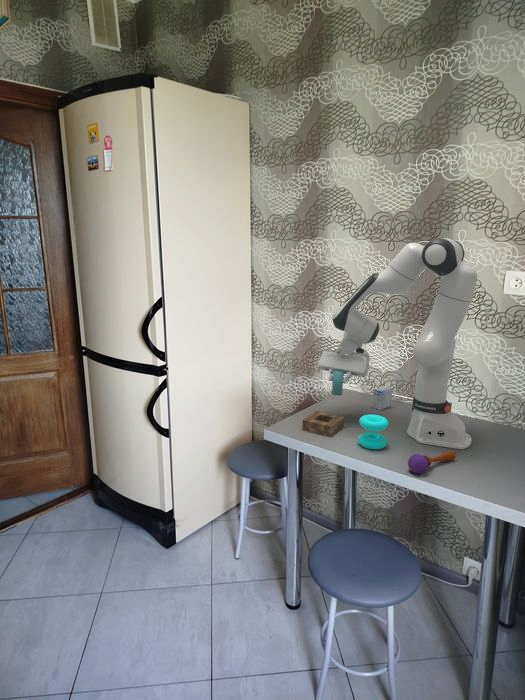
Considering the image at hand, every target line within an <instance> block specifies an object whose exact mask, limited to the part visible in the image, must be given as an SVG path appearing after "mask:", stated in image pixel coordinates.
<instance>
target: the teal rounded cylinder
mask: <svg viewBox="0 0 525 700" xmlns="http://www.w3.org/2000/svg"><path fill="white" fill-rule="evenodd" d="M332 376H333V381H331V382H332V383H331V384H332V385H331V386H332V387H331V395H333V396H342V395H343V385H344V383H342V382H341V380H342V378H344V374H343V371H340V370H335V371H333V374H332Z"/></svg>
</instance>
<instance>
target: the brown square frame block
mask: <svg viewBox="0 0 525 700" xmlns="http://www.w3.org/2000/svg"><path fill="white" fill-rule="evenodd" d="M344 427H345V416H342V415H337V414H333V413H328V412H325V411H324V412H323V411H319V410H316V411H314V412H312V413H311V414H309V415H308V416H306V417H305V418H304V419H302V428H301V429H302V431H305V430H306V431H305V432H309V431H310V433H313V432H314V434H318V435H322V436H326V437H329V438H330V437H331V438H332V437H333V436H335V434H337V433H338V432H339V431H340V430H342V429H343V428H344Z"/></svg>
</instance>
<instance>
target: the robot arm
mask: <svg viewBox="0 0 525 700" xmlns="http://www.w3.org/2000/svg"><path fill="white" fill-rule="evenodd" d="M464 258H465V250H464V247H463V244H461V243H460V242H459V241H457V240H455V239H451V238H450V237H449V238H448V237H438V238H434V239H431V240H430V241H428V242H427V243H425V245H422V244H421V243H419V242H418V243H417V242H408V243H407V244H405V246H403V247H402V248H401V250H399V252H398V253H397V254H396V255H395V256H394V258H393V259H392V261H391V262H390V263H389V265H388V266H387V267H386V268H385V269H383V270H382V271H380V272H375V273H372V274H371V275H370V276H368V277H367V279H365V281H363V283H362V284H360V285H359V287H358V288H356V290H355V291H354V292H353V293H352V294H351V295H350V297H349V298H347V300H346V301H344V302H343V303H342V304H341V305H340V306H339V307H338V308H337V309H335V311H334V313H333V316H332V323H333V326H334V328H335V329H337V330H340V331H342V332H344V333H343V337H342V339H341V341H340V343H339V345H338V347H337V350H336V349H330V348H329V349H328V348H327V349H326V350H323V352H322V354H321V356H320V358H319V360H318V362H317V367H318V368H319V370H321V371H325V372H328V374H329V376H328V381H329V382H332V381H333V371H335V370H340V371H343V375H346V376H344V377H343V378H342V380H341V382H342V383H343V385H344V384H345V385H347V382H348V381H349V380H350V379H352V376H355V377H361V378H366V377H367V376H368V375H369V372H370V371H369V370H370V361H371V357H370V355H369V353H368V350H366V349H364V348H362V347H363V345H366V344H370V343H373V342H375V340H376V339H377V337H378V335H379V332H380V329H381V327H380V323H379V321H378V320H376V319H375V318H374V317H371V316H369V315H368V314H365V313H364V312H362V311H360V310H358V309H356V308H358V306H360V304H361V303H362V302H363V301H364V299H366V298H367V297H368V296H369V295H372V294H377V293H380V294H387V295H388V294H389V295H401V294H404V293H406V292H407V291H409V290H410V289H411V288H412V286H413V285H414V284H415V282H416V281H417V279H418V278H419V277H420V276H421V275H422V273H423V272H424V271H425V270H426V269H429V270H431V271H432V272H433V273H435V274H436V275H438V276H440V277H441V279H442V280H441V282H440V287H439V289H438V291H437V294H436V297H435V299H434V302H433V306H432V308H431V311H430V313H429V315H428V317H427V320H426V321H425V323H424V325H423V327H422V329H421V332H420V333H419V334H418V335H419V336H418V338H417V340H416V342H415V344H414V346H413V350H412V355H413V359H415V361H416V362H417V363H418V364H419V367H418V371H417V374H416V376H415V386H414V387H415V388H414V396H413V397H412V401H411V411H412V412H411V418H410V421H409V424H408V428H407V430H406V434H407V435H408V436H409V437H411V438H413V439H414V440H415V441H416V442H417V443H418V444H419V443H420V444H423V445H424V444H425V445H431V446H437V447H445V448H449V449H455V450H466V449H467V448H469V447H470V446H471V444H472V443H473V442H472V439H473V438H472V437H471V435H470V434H469V433H467V431H466V425H465V422H464V421H463V420H461V419H460V418H459V416H457V415H456V414H455V413H454V412H453V411H452V403H453V402H452V401H450V402H449V401H448V400H447V396H448V395H447V394H448V386H449V385H448V384H449V378H450V374H451V370H452V365H453V359H454V353H455V349H456V339H455V338H456V336H457V334H458V331H459V329H460V328H461V326H462V324H463V323H464V320H465V318H466V315H467V312H468V309H469V307H470V305H471V302H472V299H473V296H474V293H475V289H476V287H477V282H478V281H477V280H478V272H477V271H476V270H475V268H474V267H472V266H470V265H468V264H466V263H464V262H463V260H464Z"/></svg>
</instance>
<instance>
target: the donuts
mask: <svg viewBox="0 0 525 700" xmlns="http://www.w3.org/2000/svg"><path fill="white" fill-rule="evenodd" d="M358 421H359V425H360V426H361V427H362V429H365V430H367V432H366V431H365V432H364V433H361V434H360V435H359V437H358V440H357V441H358V444H359V445H360V446H362V448H365V449H368V450H382V449H383V448H385V447H387V445H388V441H387V438H386V437H385V436H384V435H383V434H381V433H378V432H381V431H385V430H386V429H387V428H388V427H389V420H388V419H387V418H386V417H384V416H382V415H378V414H373V413H372V414H364V415H363V416H361V417H360V418H359V420H358Z"/></svg>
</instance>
